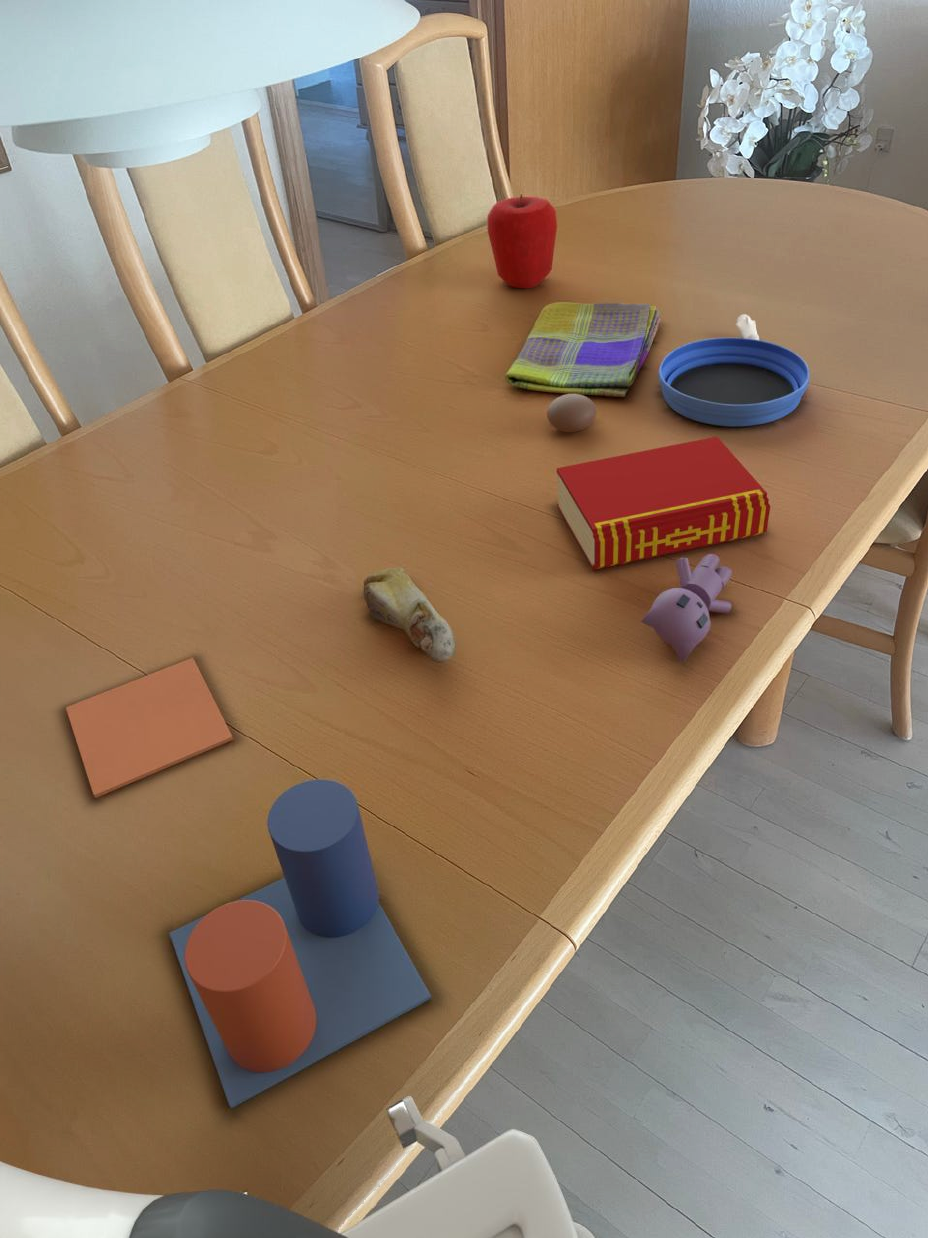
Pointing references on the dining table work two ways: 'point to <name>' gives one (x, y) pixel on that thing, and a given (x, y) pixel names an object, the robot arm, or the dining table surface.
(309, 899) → the blue canister
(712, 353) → the bowl
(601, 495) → the book
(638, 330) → the dish towel
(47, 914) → the dining table surface
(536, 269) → the apple
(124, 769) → the terracotta mat
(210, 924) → the terracotta canister
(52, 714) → the dining table surface
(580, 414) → the egg
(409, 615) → the weathered bone fragment
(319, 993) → the blue mat
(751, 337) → the small white plastic part
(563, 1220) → the robot arm
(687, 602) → the figurine
